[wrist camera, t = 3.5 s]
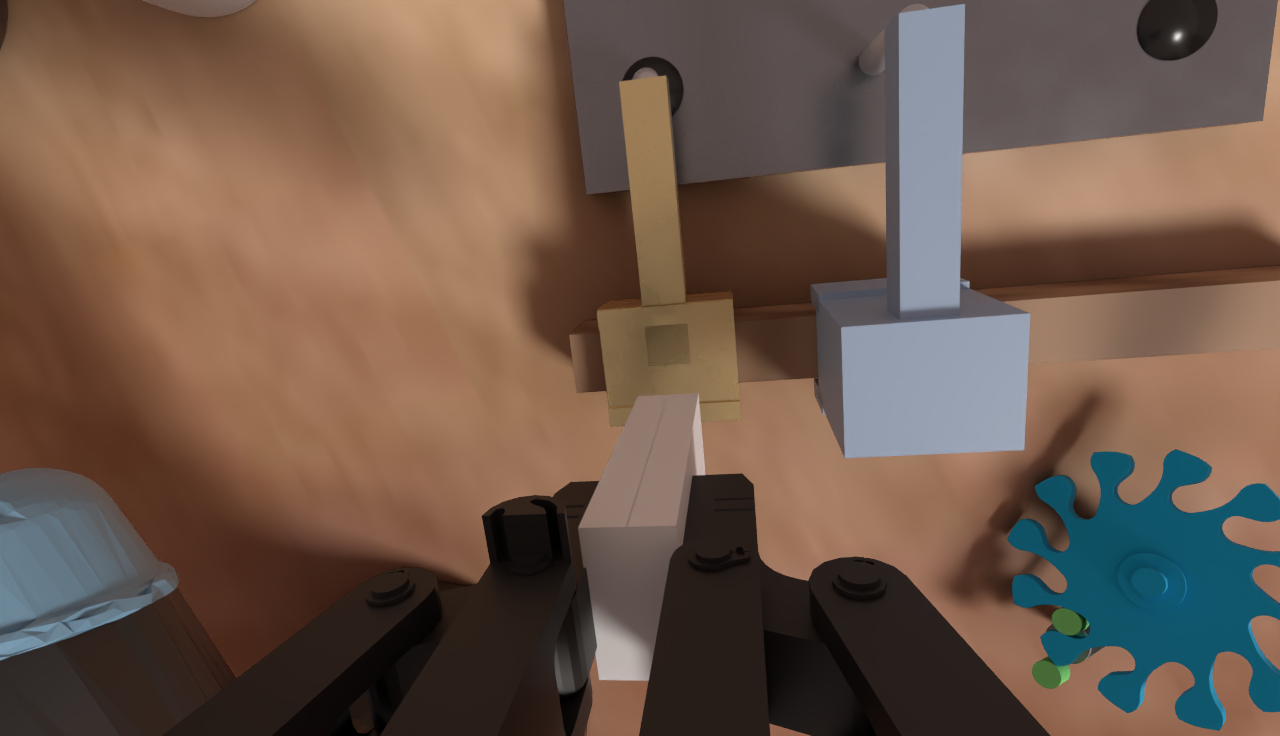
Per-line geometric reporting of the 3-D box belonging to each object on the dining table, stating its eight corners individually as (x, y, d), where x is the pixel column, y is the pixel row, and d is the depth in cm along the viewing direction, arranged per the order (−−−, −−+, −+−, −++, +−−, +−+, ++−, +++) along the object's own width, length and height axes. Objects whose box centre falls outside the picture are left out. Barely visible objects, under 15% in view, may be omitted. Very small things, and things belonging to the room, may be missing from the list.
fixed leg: (620, 406, 28) (610, 427, 25) (583, 84, 25) (567, 72, 22) (739, 399, 27) (740, 420, 25) (716, 65, 24) (715, 51, 21)
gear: (1140, 391, 25) (1452, 626, 19) (1168, 406, 29) (1434, 605, 23) (933, 567, 30) (1131, 802, 24) (982, 560, 34) (1162, 759, 28)
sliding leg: (814, 393, 27) (844, 465, 20) (800, 54, 24) (831, -3, 17) (943, 385, 26) (1023, 457, 19) (948, 34, 23) (1046, -35, 16)
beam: (591, 373, 29) (576, 392, 27) (584, 320, 29) (569, 334, 26) (1299, 325, 25) (1372, 342, 22) (1308, 262, 25) (1385, 272, 22)
